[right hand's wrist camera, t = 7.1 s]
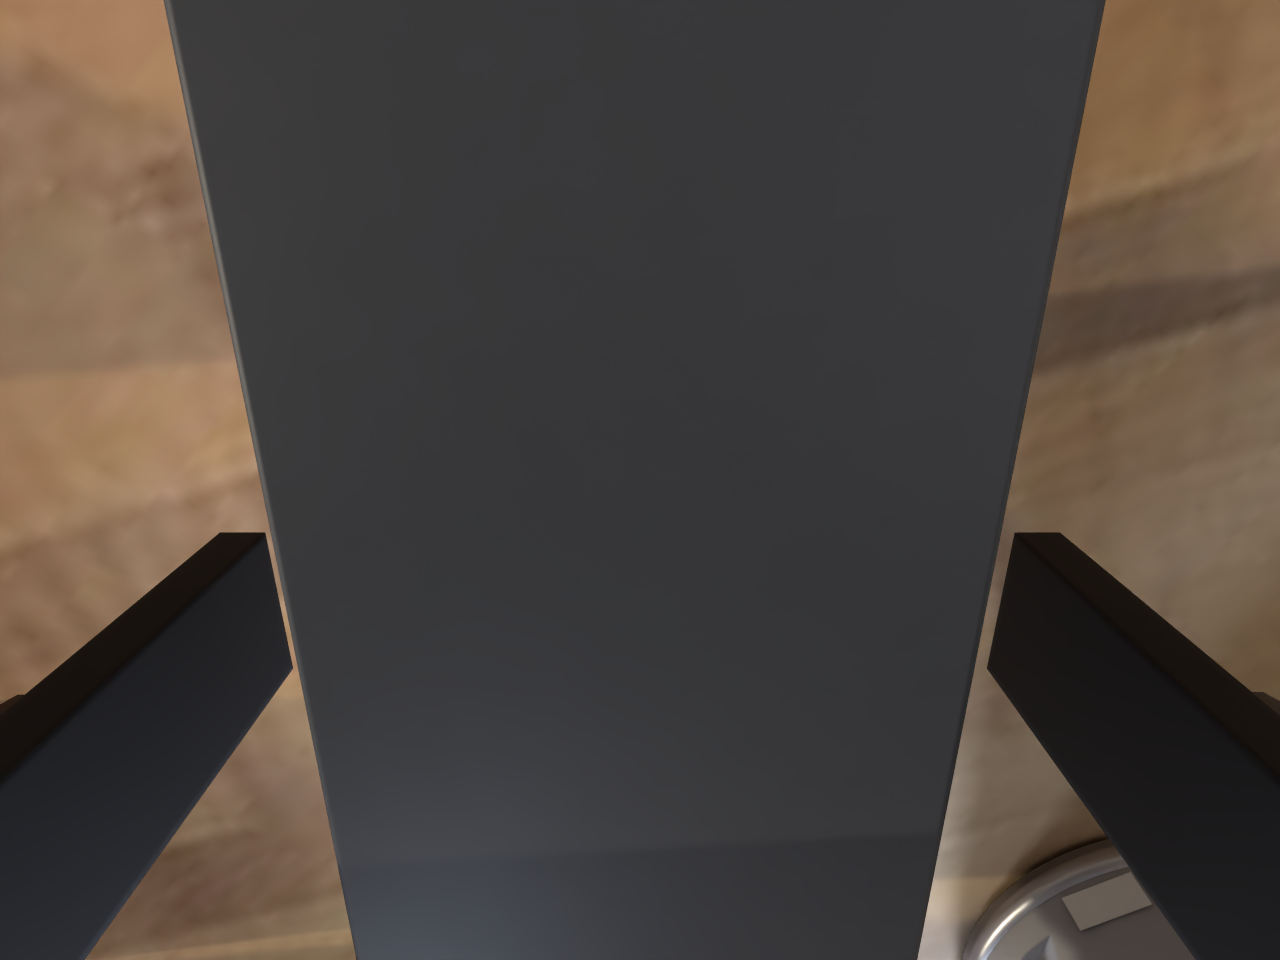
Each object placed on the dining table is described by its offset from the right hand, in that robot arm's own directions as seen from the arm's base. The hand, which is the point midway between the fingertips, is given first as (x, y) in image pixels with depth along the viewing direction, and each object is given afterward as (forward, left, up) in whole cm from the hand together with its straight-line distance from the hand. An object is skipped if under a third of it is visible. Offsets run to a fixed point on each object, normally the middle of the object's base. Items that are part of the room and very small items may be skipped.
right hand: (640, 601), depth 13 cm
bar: (+12, 0, -3) cm, 12 cm away
